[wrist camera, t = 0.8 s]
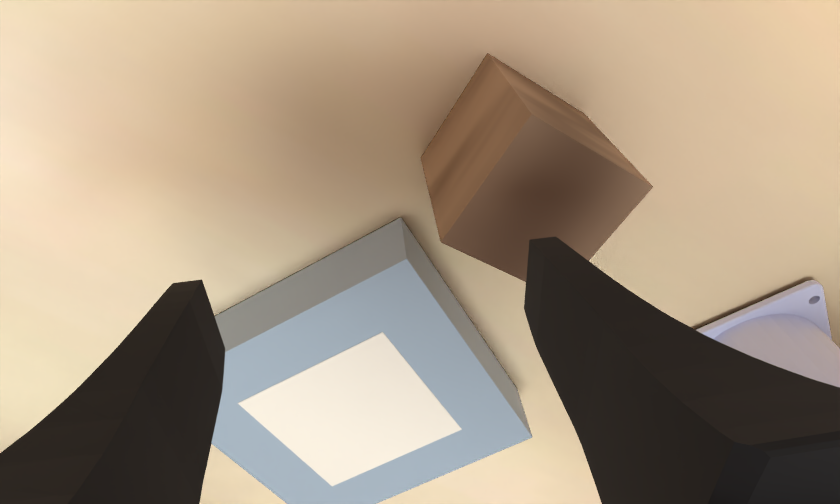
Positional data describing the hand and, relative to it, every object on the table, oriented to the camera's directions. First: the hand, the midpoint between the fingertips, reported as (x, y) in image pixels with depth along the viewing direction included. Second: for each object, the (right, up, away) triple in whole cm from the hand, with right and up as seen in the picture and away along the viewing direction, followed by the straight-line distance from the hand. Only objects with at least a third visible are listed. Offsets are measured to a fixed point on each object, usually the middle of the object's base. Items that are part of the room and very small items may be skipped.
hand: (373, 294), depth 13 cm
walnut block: (+4, +5, +9) cm, 11 cm away
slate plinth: (-2, -5, +15) cm, 16 cm away
